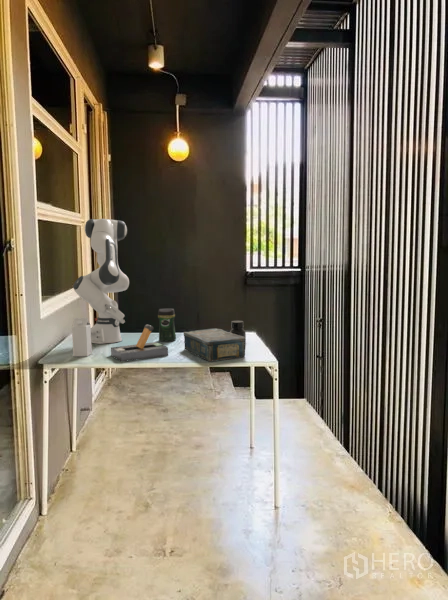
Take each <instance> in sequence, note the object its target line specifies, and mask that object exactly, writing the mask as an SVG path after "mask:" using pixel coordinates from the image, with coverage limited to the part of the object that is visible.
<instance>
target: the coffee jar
mask: <svg viewBox="0 0 448 600" xmlns="http://www.w3.org/2000/svg"><path fill="white" fill-rule="evenodd" d="M157 312H158V313H157V318H158V322H159V325H158V326H159V329H158V341H160V342H172V341H176V339H177V337H176V336H177V335H176V334H177V333H176V327H175V318H176V313H175V308H159V309H158V311H157Z"/></svg>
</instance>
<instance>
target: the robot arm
mask: <svg viewBox="0 0 448 600" xmlns="http://www.w3.org/2000/svg"><path fill="white" fill-rule="evenodd" d="M84 233H85V236H86V237H87V238H88V239H90V247H91V248H92V250H93V251H94V252H95V253H96V261H97V264H98V266H99V267H98V268H97V269H94V270H93V271H91V272H90V273H87V274H86V275H80V276H79V277H78V278H77V279H76V280H75V281H74V282H73V286H72V289H73V291H74V292H75V294H76V295H78V296H79V297H80V298H81V299H82V300H83V301H84V302H86V303H88V304H89V306H90V307H91V308H92V309H93V310H94V311H96V312H97V314H98V317H97V318H96V317H95V319H94V321H96V323H95V324H94V325H92V326H91V344H98V345H102V344H103V345H104V344H112V343H113V344H114V343H118V342H121V341H123V339H122V336H121V330H120V324H124V323H126V321H125V319H124V318H125V317H126V316H125V314H124V313H123V312H122V311H121V310H120V309H119V304H118V302H117V301H116V300H115V299H112V298H111V297H109V295H108V294H111V293H119V292H123V291H124V292H125V291H126V290H128V289H129V286H130V279H129V277H128V276H127V274H125V273H124V272H123V271H122V270H121V269H120V266H119V261H118V242H120V241H122V240H124V239H125V237H127V234H128V227H127V225H126V223H125V221H123V220H121V219H120V220H117V219H110V218H109V219H108V218H98V219H94V218H90V219H88V220H87V221H86V222H85V224H84Z"/></svg>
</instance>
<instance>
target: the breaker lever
mask: <svg viewBox="0 0 448 600" xmlns="http://www.w3.org/2000/svg"><path fill="white" fill-rule="evenodd" d="M154 329H155V328H154V326H153V325H150V324H145V325H144V327H143V331H142V333H141V335H140V337H139V338H138V341H137V343H136V344H135V345H136V346H137V347H139V348H141V349H143V348H144V346H145V344H146V343H148V339H149V338H150V336H151V334H152V332H153V330H154Z"/></svg>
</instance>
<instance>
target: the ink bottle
mask: <svg viewBox="0 0 448 600" xmlns="http://www.w3.org/2000/svg"><path fill="white" fill-rule="evenodd" d="M230 323H231V324H230V325H231V329H230V331H229V332H231V333H233V334H236V335H240V336H243V337H245V338H246V337H247V335H246V333H247V332H246V330H245V329H244V326H245V325H244V321H243V320H231V322H230Z"/></svg>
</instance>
